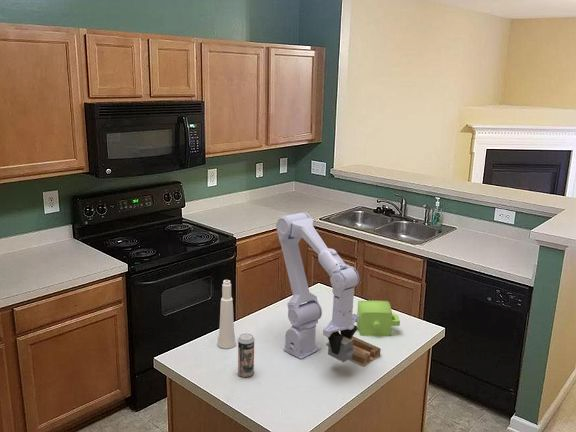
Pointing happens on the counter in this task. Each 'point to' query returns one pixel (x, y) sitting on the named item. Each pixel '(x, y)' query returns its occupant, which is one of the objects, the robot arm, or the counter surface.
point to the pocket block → (364, 352)
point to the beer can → (246, 355)
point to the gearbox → (376, 318)
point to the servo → (343, 350)
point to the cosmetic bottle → (226, 318)
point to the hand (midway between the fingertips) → (339, 350)
